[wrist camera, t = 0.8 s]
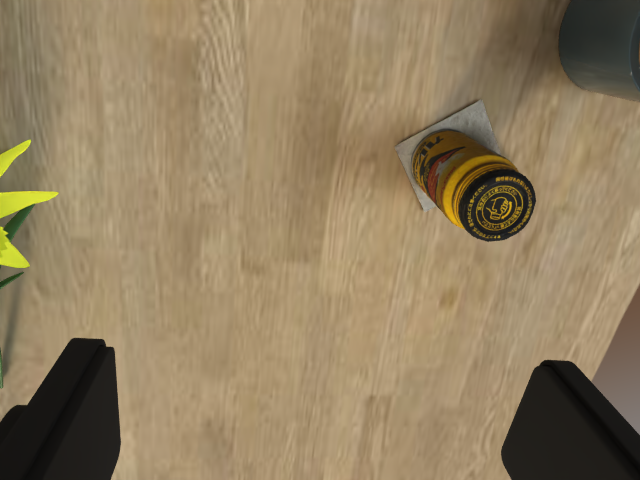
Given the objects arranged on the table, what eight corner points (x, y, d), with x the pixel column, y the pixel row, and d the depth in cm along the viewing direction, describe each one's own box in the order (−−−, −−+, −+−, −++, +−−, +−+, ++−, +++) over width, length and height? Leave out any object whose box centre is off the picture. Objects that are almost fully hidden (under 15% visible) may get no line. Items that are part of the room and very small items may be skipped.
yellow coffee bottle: (393, 146, 40) (438, 191, 30) (481, 98, 39) (560, 127, 28) (423, 211, 43) (474, 273, 33) (505, 169, 42) (585, 219, 32)
